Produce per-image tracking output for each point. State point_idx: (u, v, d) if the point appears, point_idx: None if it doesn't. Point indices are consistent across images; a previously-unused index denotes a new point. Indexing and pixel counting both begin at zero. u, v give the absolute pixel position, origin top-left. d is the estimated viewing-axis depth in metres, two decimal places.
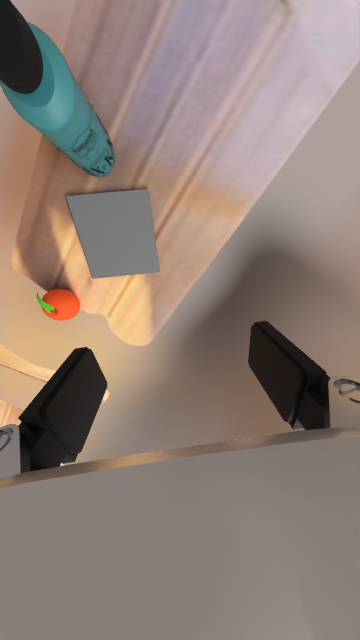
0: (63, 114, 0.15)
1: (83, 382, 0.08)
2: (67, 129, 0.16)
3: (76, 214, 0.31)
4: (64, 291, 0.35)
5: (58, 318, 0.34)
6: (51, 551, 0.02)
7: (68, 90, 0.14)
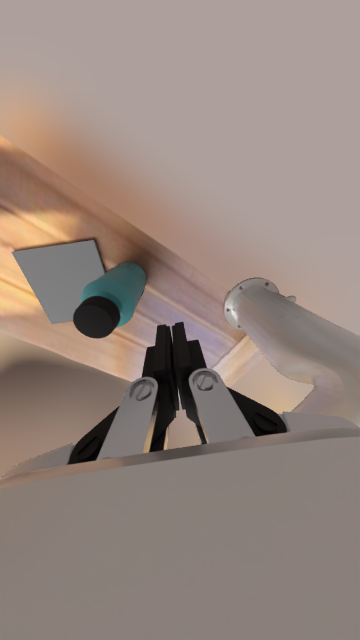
0: None
1: (172, 353, 0.09)
2: None
3: (79, 247, 0.30)
4: None
5: None
6: (51, 551, 0.02)
7: None
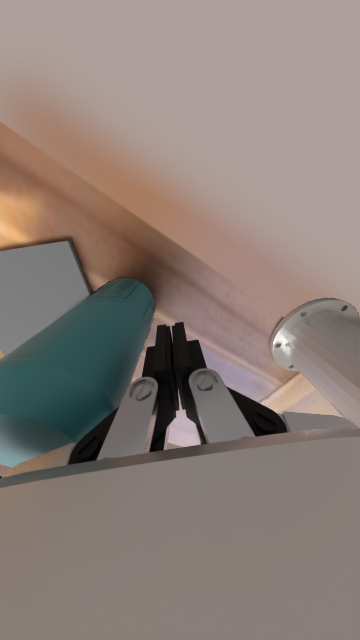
0: None
1: (172, 353, 0.09)
2: None
3: (44, 253, 0.18)
4: None
5: None
6: (51, 551, 0.02)
7: None
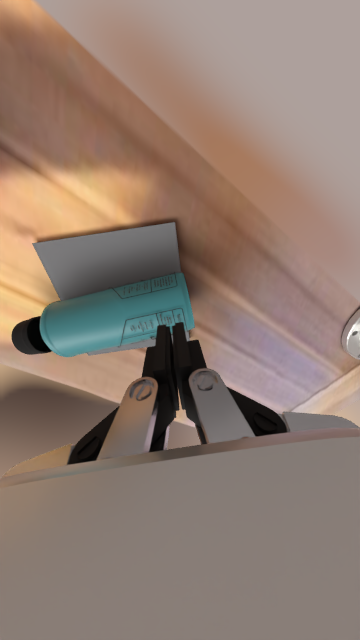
0: None
1: (172, 353, 0.09)
2: None
3: (148, 235, 0.17)
4: None
5: None
6: (51, 551, 0.02)
7: None
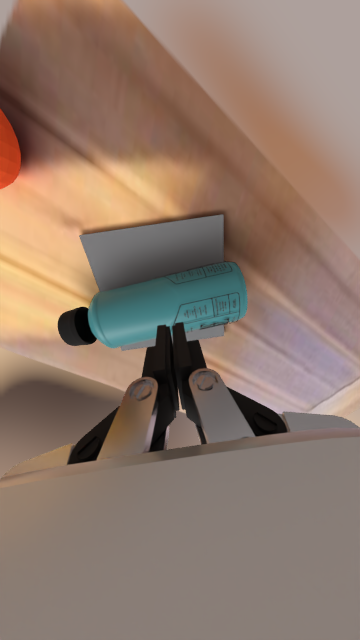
0: None
1: (172, 353, 0.09)
2: None
3: (196, 227, 0.17)
4: (7, 154, 0.12)
5: None
6: (51, 551, 0.02)
7: None
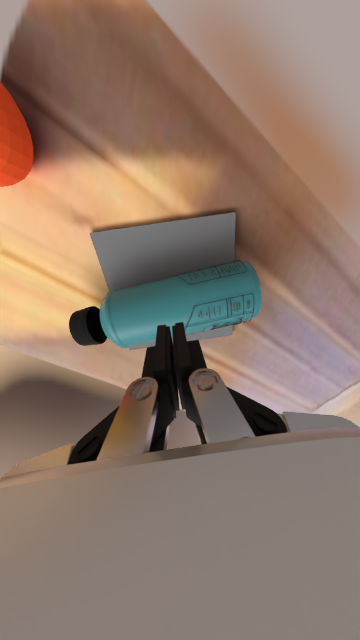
0: None
1: (172, 353, 0.09)
2: None
3: (207, 225, 0.17)
4: (21, 149, 0.11)
5: None
6: (51, 551, 0.02)
7: None
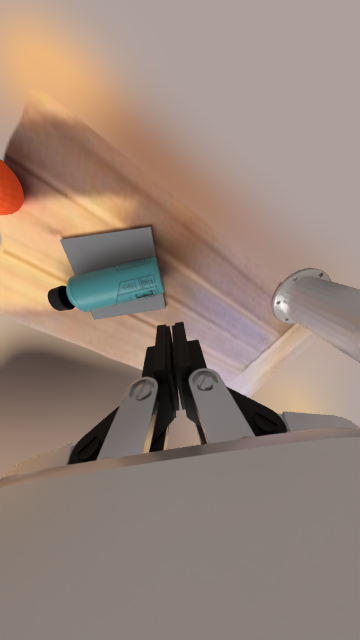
0: None
1: (172, 353, 0.09)
2: None
3: (134, 235, 0.27)
4: (17, 197, 0.22)
5: None
6: (51, 551, 0.02)
7: None
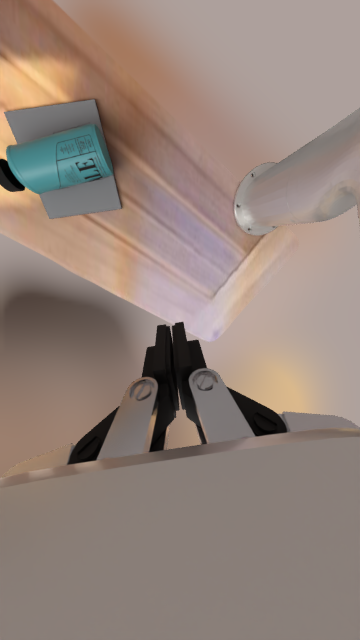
0: None
1: (172, 353, 0.09)
2: None
3: (79, 109, 0.27)
4: None
5: None
6: (51, 551, 0.02)
7: None
